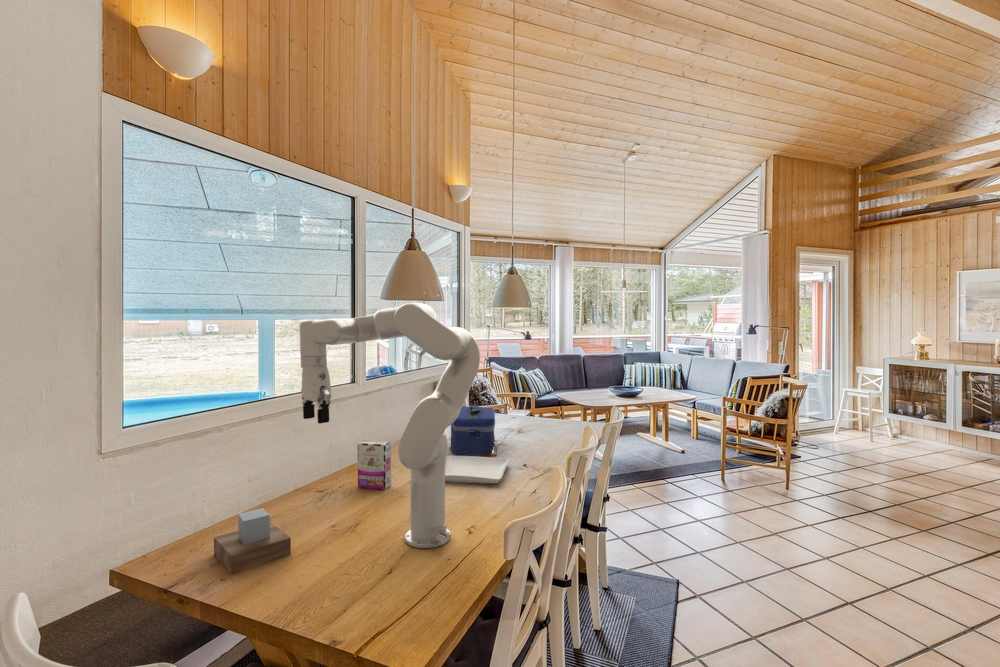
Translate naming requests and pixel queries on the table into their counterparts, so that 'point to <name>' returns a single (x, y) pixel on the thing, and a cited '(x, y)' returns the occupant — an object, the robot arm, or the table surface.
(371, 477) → the candy bar box
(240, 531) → the slate cube
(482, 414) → the lunch bag
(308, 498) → the table surface
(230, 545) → the walnut block
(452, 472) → the square plate
